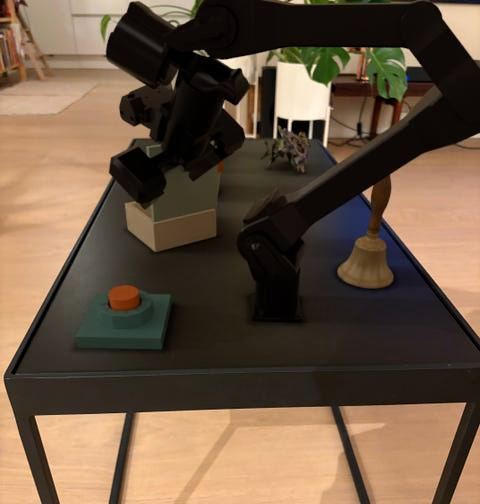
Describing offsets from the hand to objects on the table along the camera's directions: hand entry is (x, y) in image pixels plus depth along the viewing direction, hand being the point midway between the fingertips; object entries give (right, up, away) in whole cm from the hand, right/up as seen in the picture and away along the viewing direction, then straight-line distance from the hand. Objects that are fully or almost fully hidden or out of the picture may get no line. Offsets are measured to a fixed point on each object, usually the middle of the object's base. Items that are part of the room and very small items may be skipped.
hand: (168, 192), depth 72 cm
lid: (+1, +4, +8) cm, 9 cm away
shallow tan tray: (-2, -3, +17) cm, 17 cm away
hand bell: (+29, -11, +6) cm, 32 cm away
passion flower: (+20, +17, +47) cm, 54 cm away
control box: (-4, -18, -7) cm, 20 cm away
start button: (-4, -16, -8) cm, 19 cm away
